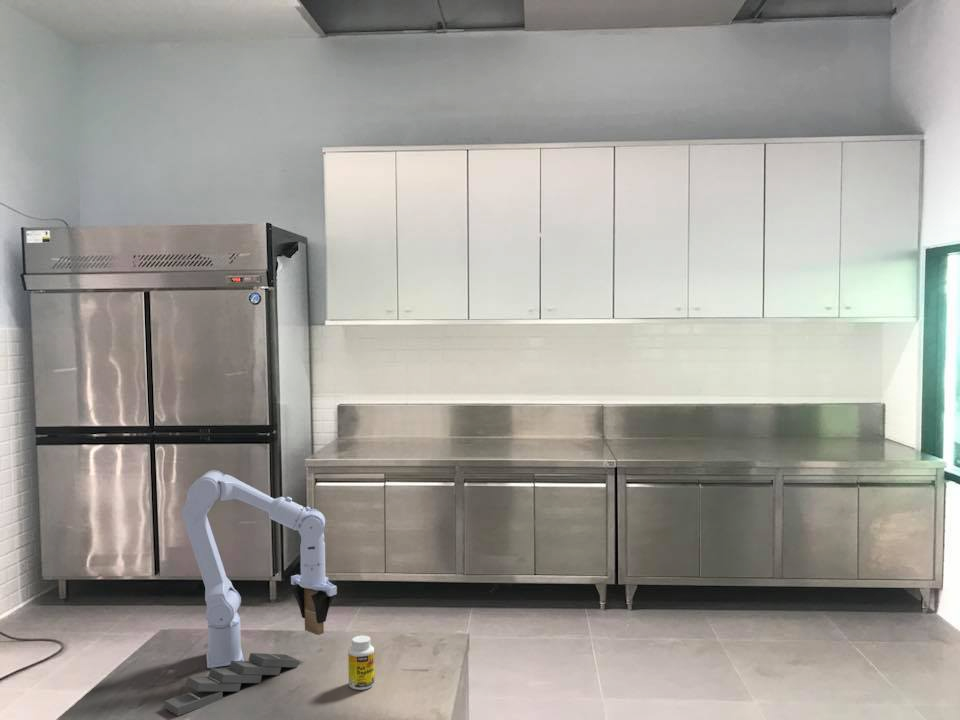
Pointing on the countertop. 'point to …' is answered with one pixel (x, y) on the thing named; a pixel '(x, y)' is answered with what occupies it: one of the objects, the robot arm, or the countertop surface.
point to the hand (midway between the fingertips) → (313, 619)
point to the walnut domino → (311, 613)
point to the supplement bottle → (361, 663)
